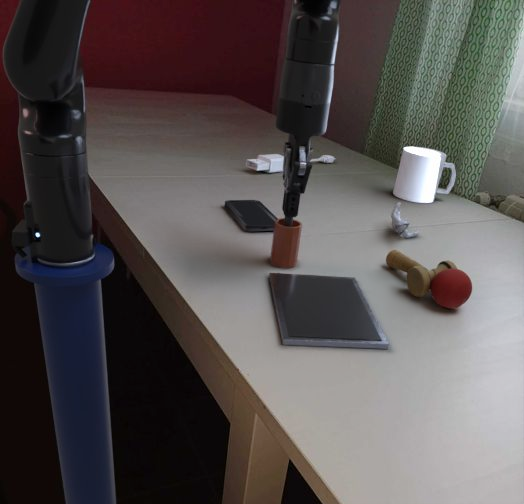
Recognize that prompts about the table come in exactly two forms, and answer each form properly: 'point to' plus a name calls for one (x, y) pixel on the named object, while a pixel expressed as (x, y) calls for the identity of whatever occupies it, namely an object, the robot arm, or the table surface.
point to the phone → (251, 215)
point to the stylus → (288, 220)
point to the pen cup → (285, 244)
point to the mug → (421, 174)
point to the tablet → (324, 312)
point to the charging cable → (277, 162)
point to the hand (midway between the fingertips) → (289, 213)
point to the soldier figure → (400, 223)
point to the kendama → (434, 280)
